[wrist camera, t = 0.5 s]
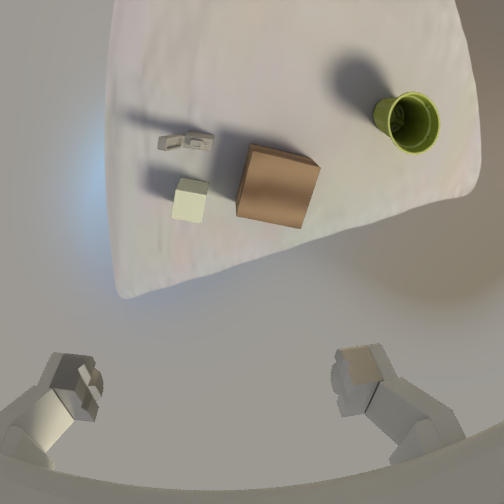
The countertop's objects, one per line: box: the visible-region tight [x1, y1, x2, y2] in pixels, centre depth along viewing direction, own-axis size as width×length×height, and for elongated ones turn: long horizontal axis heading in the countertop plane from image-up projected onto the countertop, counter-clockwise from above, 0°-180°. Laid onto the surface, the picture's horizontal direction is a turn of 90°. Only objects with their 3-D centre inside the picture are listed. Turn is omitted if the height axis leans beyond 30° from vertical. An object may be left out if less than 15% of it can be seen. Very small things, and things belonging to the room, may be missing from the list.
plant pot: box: [373, 92, 440, 155], centre depth 42 cm, size 9×9×9 cm
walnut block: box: [236, 144, 321, 229], centre depth 48 cm, size 10×10×6 cm
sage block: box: [171, 178, 209, 223], centre depth 48 cm, size 4×4×6 cm
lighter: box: [158, 131, 214, 151], centre depth 43 cm, size 7×2×8 cm, turn 79°
